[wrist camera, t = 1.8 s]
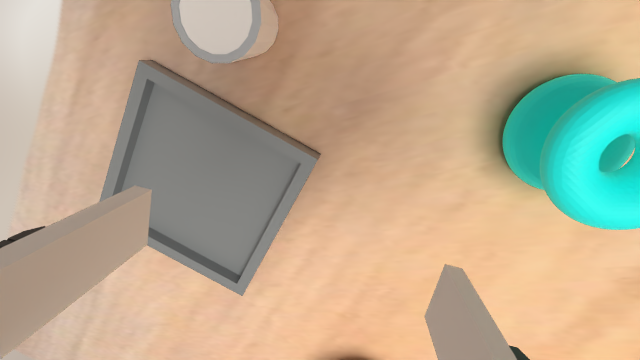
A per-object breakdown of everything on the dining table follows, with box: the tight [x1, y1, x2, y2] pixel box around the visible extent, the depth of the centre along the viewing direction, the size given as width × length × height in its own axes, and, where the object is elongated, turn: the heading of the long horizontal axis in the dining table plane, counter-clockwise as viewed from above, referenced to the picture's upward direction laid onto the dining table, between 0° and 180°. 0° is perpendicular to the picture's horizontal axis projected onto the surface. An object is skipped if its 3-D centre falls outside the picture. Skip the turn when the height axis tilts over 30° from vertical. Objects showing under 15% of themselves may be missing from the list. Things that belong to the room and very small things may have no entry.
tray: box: [99, 60, 321, 296], centre depth 35 cm, size 19×19×2 cm
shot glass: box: [171, 0, 279, 63], centre depth 27 cm, size 7×7×7 cm
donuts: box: [503, 74, 640, 230], centre depth 25 cm, size 10×10×10 cm
